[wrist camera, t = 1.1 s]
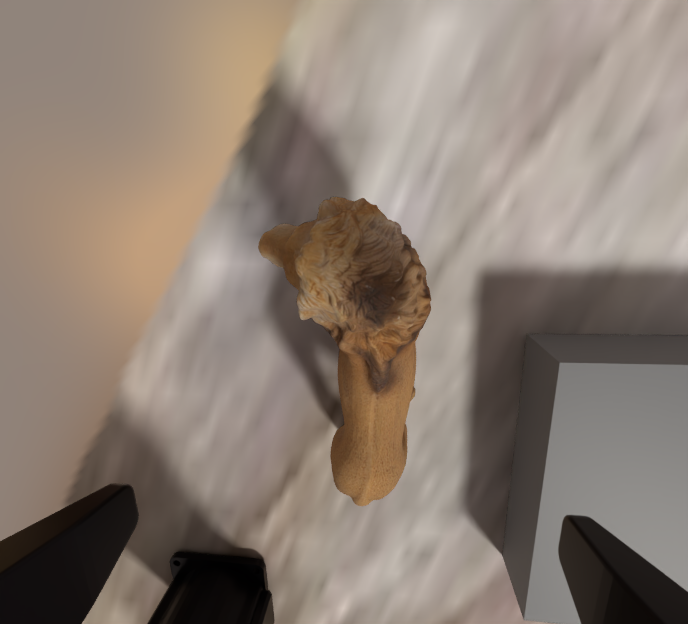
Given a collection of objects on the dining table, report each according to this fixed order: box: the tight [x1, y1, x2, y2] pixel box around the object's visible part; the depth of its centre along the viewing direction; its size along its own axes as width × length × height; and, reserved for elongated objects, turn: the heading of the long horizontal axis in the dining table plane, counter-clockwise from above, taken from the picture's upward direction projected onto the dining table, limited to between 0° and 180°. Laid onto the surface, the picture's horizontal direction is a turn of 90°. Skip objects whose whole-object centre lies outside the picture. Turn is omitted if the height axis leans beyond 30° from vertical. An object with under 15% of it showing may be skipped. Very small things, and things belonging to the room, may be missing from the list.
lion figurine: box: [258, 197, 431, 506], centre depth 15 cm, size 15×5×9 cm, turn 9°
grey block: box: [502, 334, 688, 624], centre depth 17 cm, size 12×14×4 cm
